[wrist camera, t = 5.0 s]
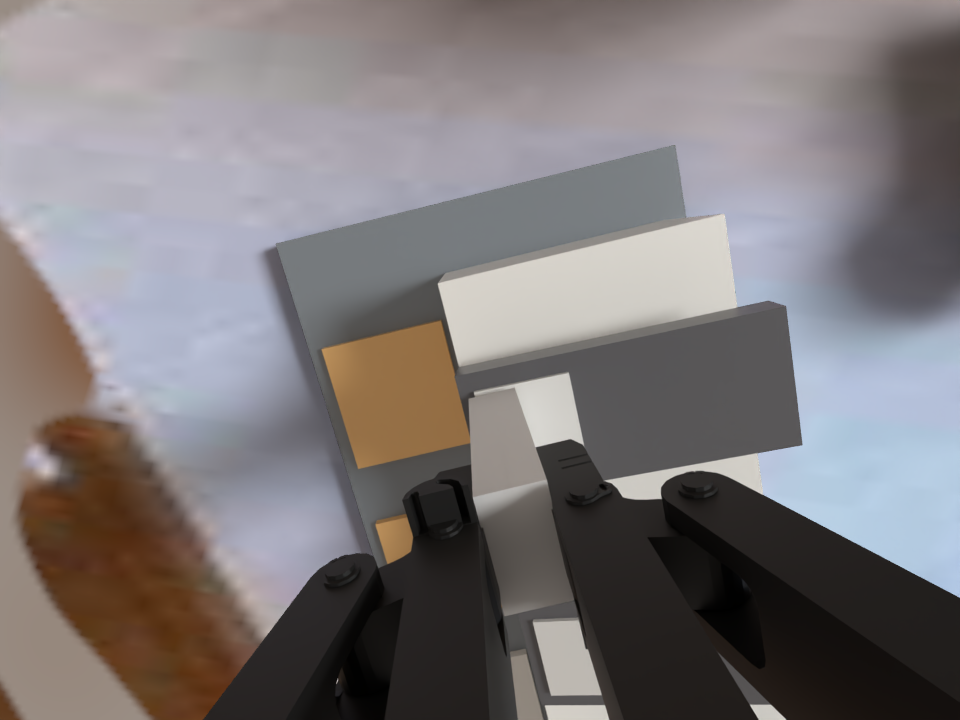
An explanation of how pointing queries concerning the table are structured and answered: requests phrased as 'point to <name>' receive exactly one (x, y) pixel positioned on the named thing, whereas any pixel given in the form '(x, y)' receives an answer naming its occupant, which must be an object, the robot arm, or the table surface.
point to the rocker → (657, 391)
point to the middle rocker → (576, 659)
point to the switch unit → (495, 326)
